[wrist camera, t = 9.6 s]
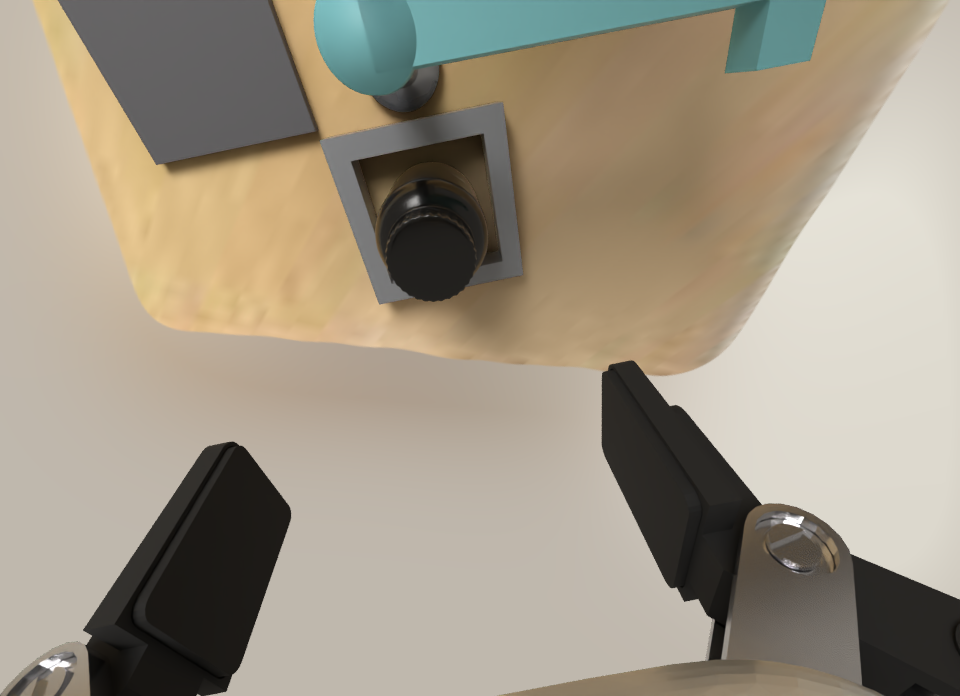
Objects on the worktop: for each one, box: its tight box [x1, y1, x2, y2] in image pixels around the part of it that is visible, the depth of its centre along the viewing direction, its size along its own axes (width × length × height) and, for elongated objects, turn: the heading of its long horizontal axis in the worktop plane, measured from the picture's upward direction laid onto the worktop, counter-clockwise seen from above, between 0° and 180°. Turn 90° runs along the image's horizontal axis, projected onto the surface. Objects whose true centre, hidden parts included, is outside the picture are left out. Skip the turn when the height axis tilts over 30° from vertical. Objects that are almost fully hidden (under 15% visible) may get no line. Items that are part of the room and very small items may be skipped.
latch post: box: [372, 65, 439, 112], centre depth 19 cm, size 5×5×13 cm
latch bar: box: [314, 0, 826, 96], centre depth 13 cm, size 17×6×2 cm, turn 99°
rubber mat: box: [58, 0, 318, 165], centre depth 23 cm, size 11×11×1 cm
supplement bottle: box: [375, 162, 488, 302], centre depth 25 cm, size 7×7×12 cm
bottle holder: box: [320, 102, 523, 304], centre depth 29 cm, size 12×12×2 cm
